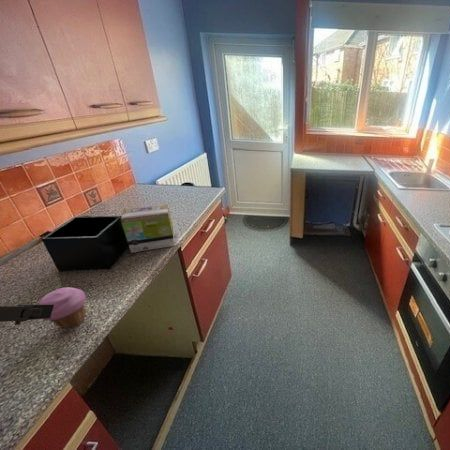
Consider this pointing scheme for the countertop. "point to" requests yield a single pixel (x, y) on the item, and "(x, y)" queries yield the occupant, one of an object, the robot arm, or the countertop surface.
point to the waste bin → (87, 243)
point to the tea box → (148, 227)
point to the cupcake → (66, 306)
